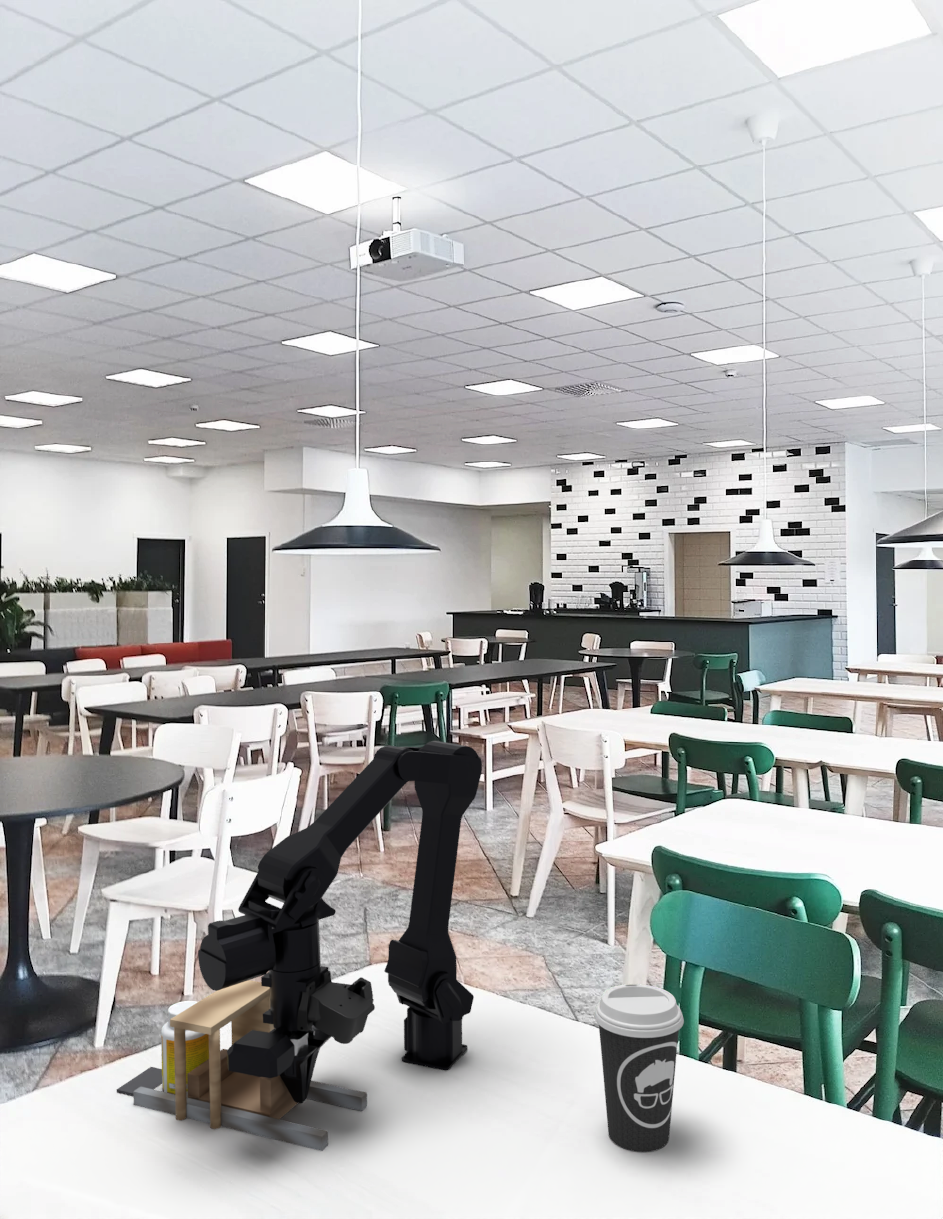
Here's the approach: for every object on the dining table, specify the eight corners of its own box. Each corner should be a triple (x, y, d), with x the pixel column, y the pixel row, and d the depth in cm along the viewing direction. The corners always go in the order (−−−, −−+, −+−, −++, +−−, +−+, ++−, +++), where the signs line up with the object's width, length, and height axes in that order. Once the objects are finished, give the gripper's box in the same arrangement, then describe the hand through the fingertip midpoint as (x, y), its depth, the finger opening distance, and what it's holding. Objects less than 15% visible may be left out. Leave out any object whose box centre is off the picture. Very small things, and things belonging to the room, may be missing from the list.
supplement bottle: (219, 1094, 120) (217, 1008, 120) (173, 1110, 116) (172, 1021, 116) (199, 1076, 124) (197, 993, 124) (154, 1091, 121) (153, 1006, 120)
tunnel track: (372, 1102, 118) (371, 1001, 117) (315, 1159, 106) (313, 1048, 106) (195, 1063, 127) (193, 970, 127) (125, 1112, 116) (123, 1009, 116)
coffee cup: (689, 1120, 113) (689, 987, 113) (677, 1167, 104) (677, 1023, 104) (604, 1106, 117) (603, 976, 116) (585, 1150, 108) (585, 1010, 107)
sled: (302, 1099, 118) (301, 1054, 118) (269, 1128, 112) (268, 1081, 112) (223, 1081, 122) (222, 1038, 122) (188, 1108, 116) (187, 1063, 116)
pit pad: (177, 1074, 125) (177, 1072, 125) (143, 1098, 119) (143, 1095, 119) (151, 1068, 126) (151, 1066, 126) (116, 1091, 121) (116, 1089, 121)
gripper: (313, 1004, 102) (319, 1158, 103) (396, 941, 119) (402, 1073, 120) (220, 991, 106) (227, 1139, 107) (314, 932, 124) (319, 1060, 124)
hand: (300, 1101), depth 114 cm, fingers closed, pressing on sled
